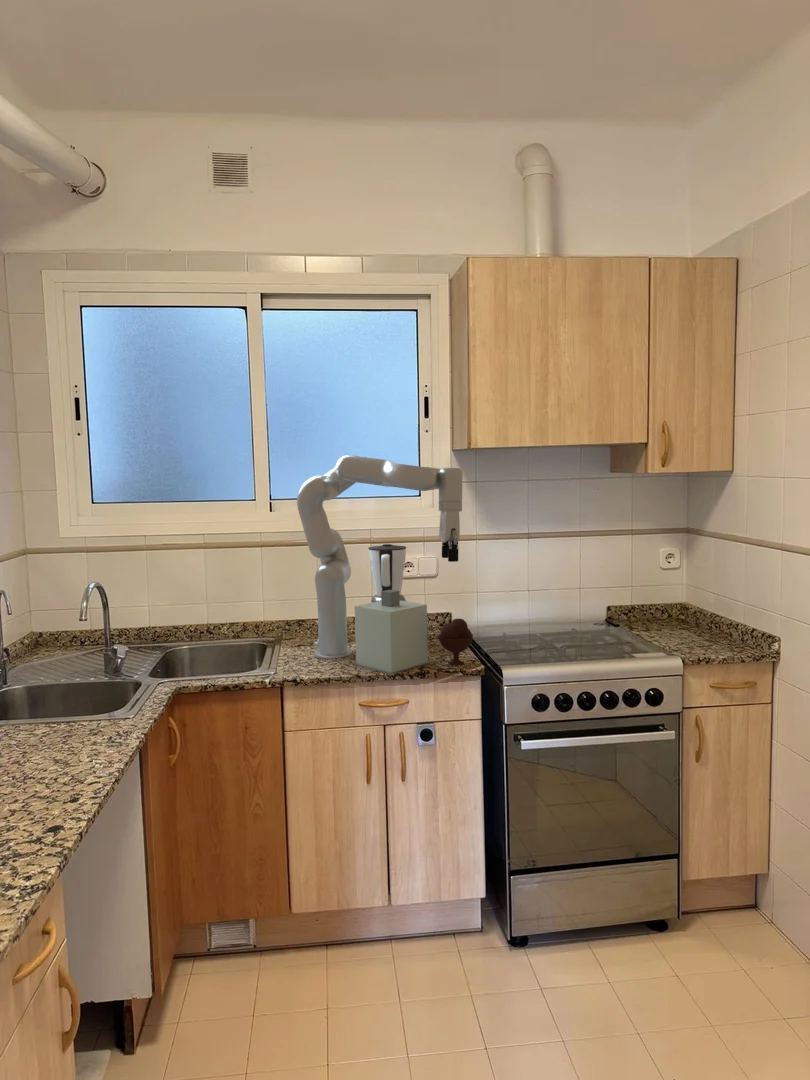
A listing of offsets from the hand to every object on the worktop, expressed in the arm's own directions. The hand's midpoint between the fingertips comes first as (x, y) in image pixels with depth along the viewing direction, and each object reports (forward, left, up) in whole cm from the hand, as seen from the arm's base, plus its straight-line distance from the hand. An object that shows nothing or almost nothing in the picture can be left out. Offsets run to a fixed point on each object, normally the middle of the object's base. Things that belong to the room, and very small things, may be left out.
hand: (449, 559), depth 237 cm
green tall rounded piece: (-31, +2, -32) cm, 45 cm away
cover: (-8, -19, -32) cm, 38 cm away
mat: (-8, -19, -32) cm, 38 cm away
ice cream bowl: (+8, -6, -32) cm, 34 cm away
